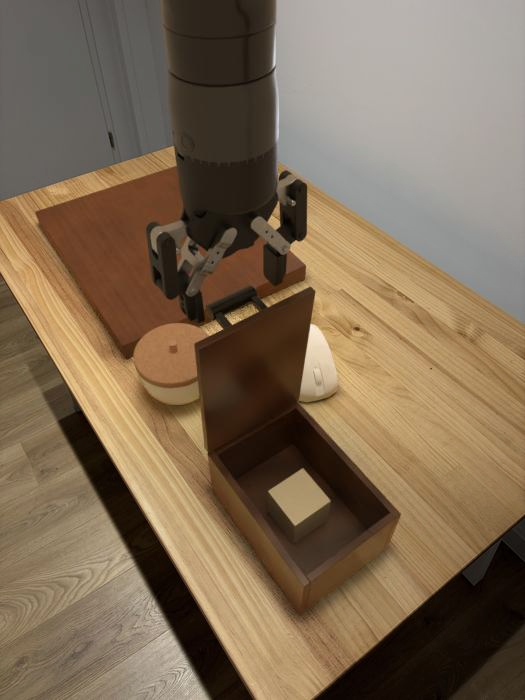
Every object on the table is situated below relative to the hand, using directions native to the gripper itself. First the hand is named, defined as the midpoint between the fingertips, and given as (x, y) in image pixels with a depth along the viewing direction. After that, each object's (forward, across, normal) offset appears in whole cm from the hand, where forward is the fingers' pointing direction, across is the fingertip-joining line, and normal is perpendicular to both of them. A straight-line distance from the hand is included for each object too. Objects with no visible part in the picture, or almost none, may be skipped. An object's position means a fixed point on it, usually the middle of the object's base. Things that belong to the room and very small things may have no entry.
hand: (235, 298), depth 51 cm
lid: (+9, 0, +3) cm, 9 cm away
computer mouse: (+27, -15, -7) cm, 32 cm away
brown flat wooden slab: (+27, -12, -43) cm, 52 cm away
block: (+26, 0, +11) cm, 29 cm away
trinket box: (+27, +2, -14) cm, 31 cm away
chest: (+27, 0, +11) cm, 29 cm away
